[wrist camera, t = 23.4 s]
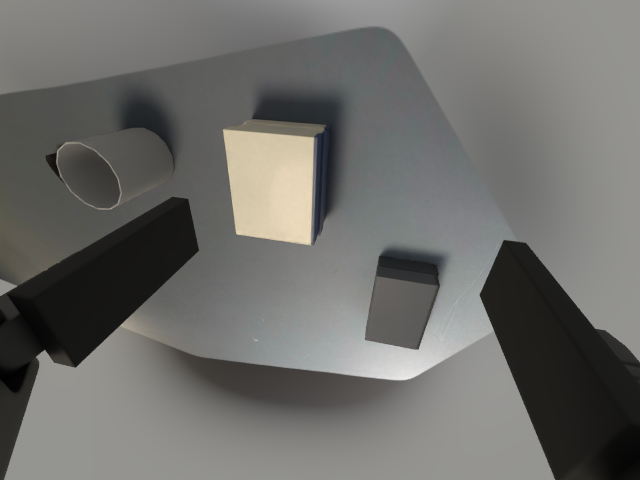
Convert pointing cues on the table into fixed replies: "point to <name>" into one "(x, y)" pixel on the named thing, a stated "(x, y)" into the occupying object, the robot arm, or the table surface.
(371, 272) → the table surface
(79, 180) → the cup
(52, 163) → the watch
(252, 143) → the cream book
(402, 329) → the grey stack
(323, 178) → the cream stack
